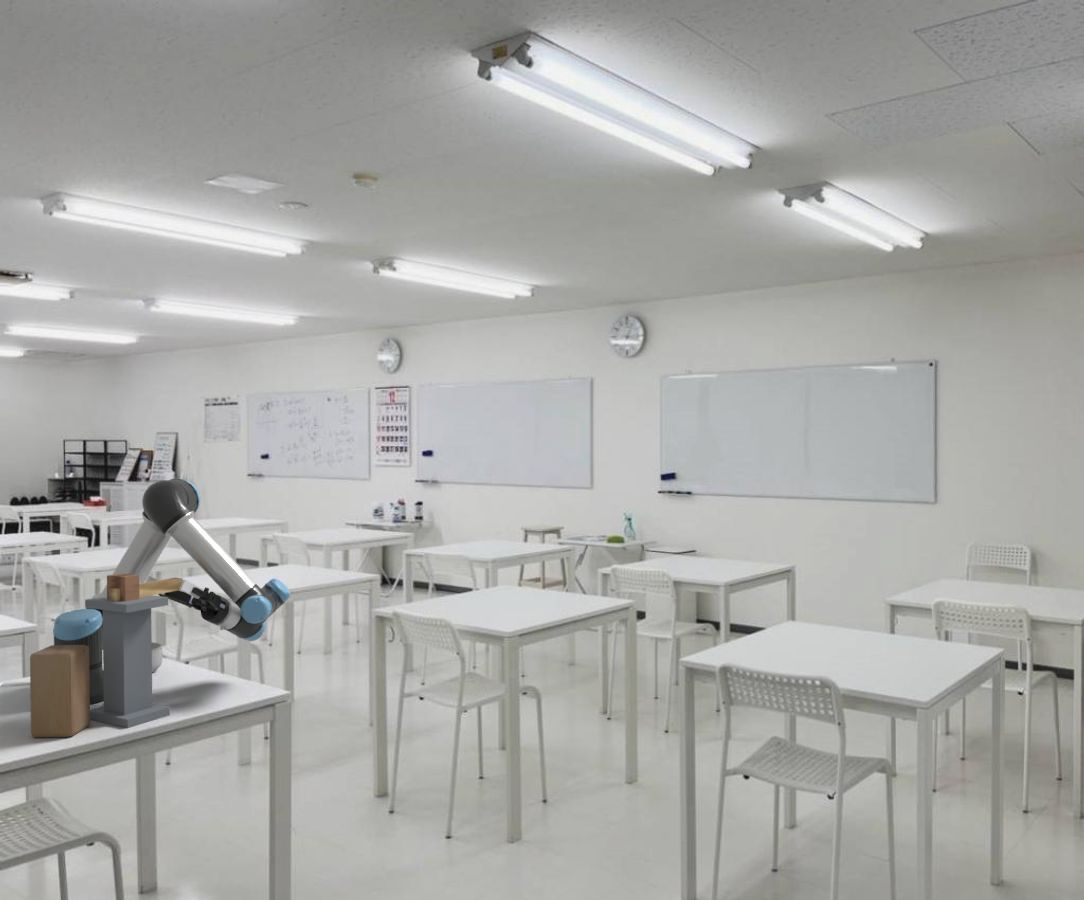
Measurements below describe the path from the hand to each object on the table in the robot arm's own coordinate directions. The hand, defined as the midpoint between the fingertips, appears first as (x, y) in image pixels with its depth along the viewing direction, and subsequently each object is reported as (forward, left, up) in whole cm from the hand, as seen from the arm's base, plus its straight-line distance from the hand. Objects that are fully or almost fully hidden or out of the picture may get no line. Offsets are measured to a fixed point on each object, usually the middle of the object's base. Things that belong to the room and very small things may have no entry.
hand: (164, 582), depth 242 cm
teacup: (-38, +21, -33) cm, 55 cm away
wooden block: (-4, -26, -33) cm, 42 cm away
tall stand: (0, -11, -32) cm, 34 cm away
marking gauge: (0, -5, -2) cm, 6 cm away
